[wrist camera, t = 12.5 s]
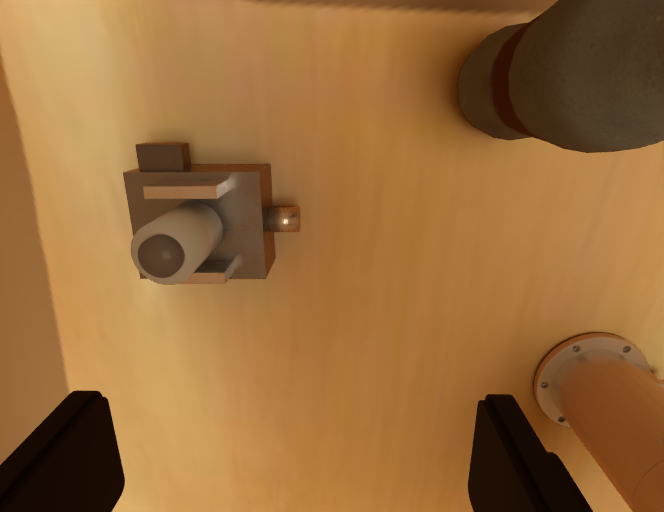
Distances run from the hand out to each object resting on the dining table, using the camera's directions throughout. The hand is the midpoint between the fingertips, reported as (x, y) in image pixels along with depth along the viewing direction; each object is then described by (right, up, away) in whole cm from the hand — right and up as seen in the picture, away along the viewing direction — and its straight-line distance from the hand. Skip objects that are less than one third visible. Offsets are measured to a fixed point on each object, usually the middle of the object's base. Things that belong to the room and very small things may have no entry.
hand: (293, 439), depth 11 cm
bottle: (+17, +21, +29) cm, 39 cm away
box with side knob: (-10, +10, +33) cm, 36 cm away
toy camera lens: (-11, +7, +28) cm, 31 cm away
